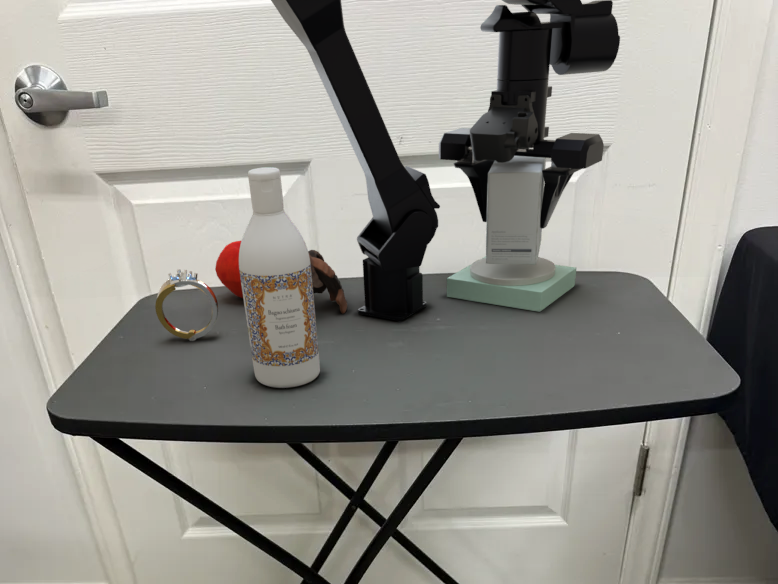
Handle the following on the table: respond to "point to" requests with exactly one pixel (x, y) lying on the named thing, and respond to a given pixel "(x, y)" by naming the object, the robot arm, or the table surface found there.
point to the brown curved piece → (326, 280)
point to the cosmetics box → (514, 211)
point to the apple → (230, 268)
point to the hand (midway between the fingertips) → (513, 224)
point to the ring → (169, 287)
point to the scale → (512, 283)
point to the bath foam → (277, 289)
